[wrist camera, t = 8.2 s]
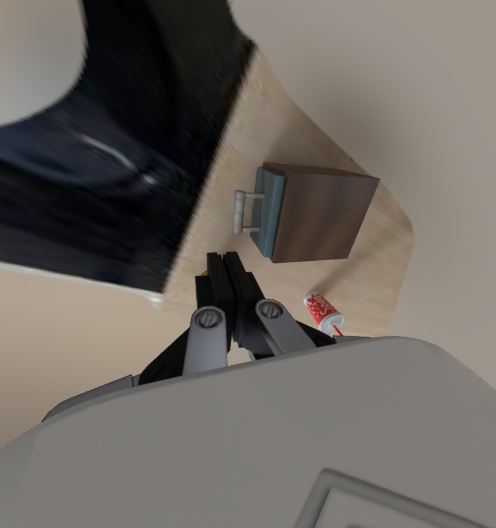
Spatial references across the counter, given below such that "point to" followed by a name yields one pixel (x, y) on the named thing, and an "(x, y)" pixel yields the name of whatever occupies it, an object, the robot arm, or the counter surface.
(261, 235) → the drawer
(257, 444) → the robot arm
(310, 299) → the beverage cup
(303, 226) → the cabinet
